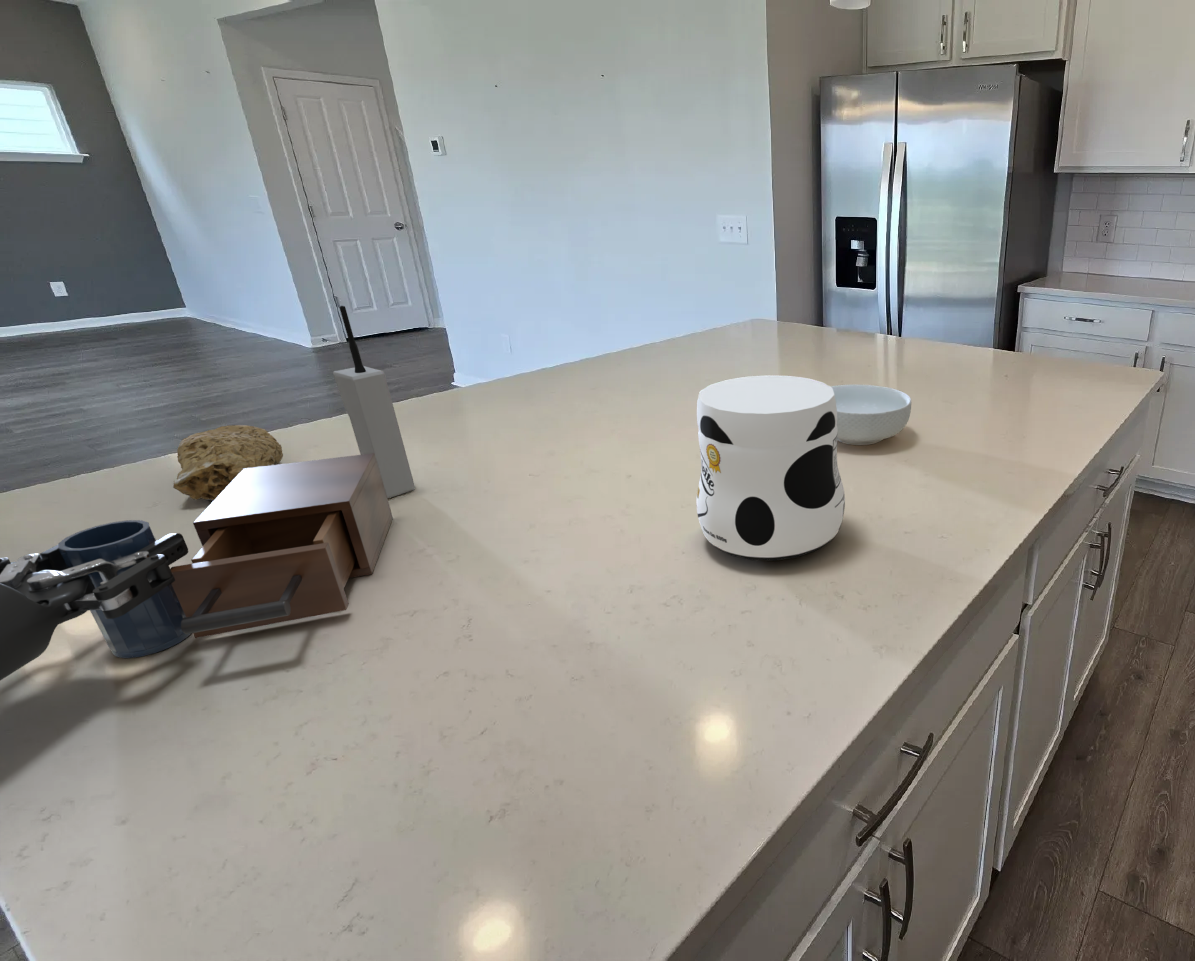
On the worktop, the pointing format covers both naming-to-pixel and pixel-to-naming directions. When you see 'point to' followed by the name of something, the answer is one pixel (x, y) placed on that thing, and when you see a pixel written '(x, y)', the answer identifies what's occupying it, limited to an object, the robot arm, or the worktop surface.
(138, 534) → the utensil crock
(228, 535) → the drawer
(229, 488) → the cabinet
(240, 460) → the sponge
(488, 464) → the worktop surface
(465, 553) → the worktop surface
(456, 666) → the worktop surface
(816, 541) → the milk container
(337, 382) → the vintage mobile phone
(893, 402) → the cereal bowl
